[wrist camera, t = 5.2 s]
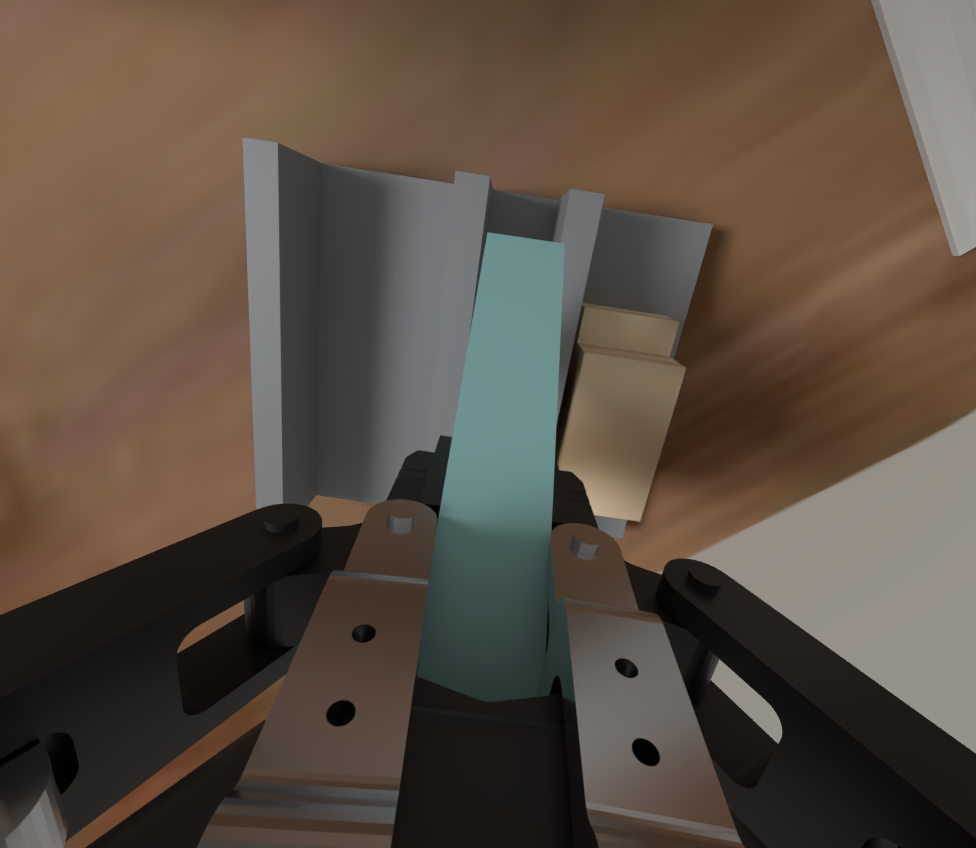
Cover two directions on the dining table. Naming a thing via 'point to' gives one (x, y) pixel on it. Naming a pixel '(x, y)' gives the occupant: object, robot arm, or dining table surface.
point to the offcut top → (617, 425)
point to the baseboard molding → (939, 100)
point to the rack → (408, 307)
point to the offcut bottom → (621, 334)
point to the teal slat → (499, 483)
